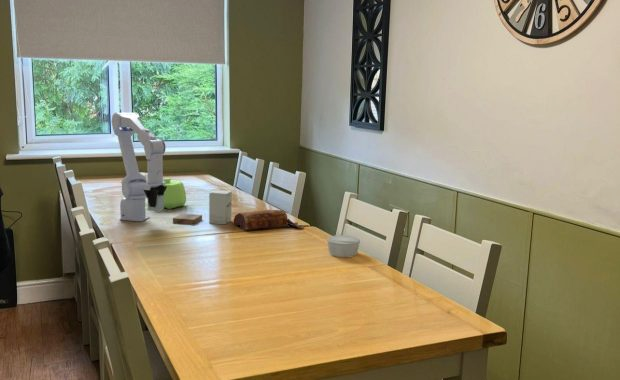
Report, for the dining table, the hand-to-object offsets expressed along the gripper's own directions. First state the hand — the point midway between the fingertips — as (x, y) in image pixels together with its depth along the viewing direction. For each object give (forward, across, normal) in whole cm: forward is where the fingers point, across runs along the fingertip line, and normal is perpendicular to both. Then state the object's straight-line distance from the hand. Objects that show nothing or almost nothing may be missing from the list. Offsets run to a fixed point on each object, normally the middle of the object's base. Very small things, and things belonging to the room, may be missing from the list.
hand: (155, 205), depth 231 cm
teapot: (+9, +38, +14) cm, 42 cm away
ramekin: (+9, -17, -76) cm, 79 cm away
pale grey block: (+2, 0, 0) cm, 2 cm away
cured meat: (+9, +15, -42) cm, 46 cm away
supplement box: (+9, +16, -21) cm, 28 cm away
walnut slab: (+9, +13, -8) cm, 17 cm away
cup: (+9, +66, +39) cm, 77 cm away
